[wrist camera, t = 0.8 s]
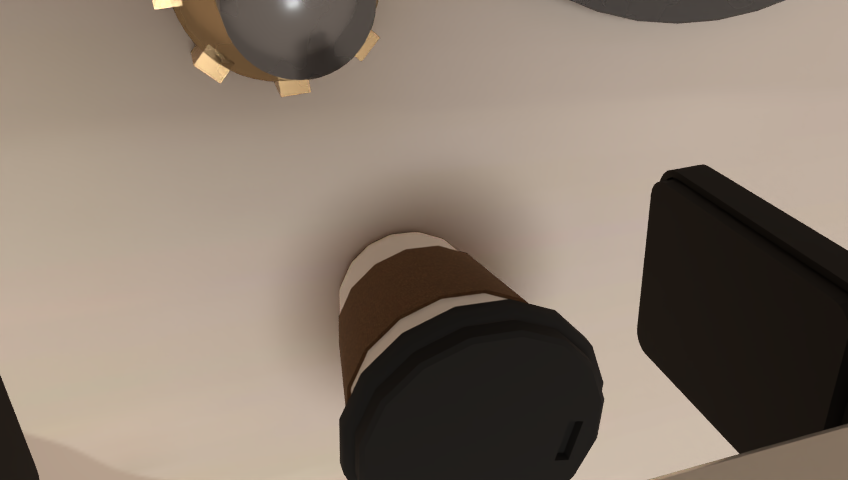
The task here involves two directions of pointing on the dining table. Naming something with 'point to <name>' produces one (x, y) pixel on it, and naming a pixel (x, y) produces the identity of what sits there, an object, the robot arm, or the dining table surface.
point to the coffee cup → (457, 372)
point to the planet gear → (276, 37)
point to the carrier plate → (676, 9)
